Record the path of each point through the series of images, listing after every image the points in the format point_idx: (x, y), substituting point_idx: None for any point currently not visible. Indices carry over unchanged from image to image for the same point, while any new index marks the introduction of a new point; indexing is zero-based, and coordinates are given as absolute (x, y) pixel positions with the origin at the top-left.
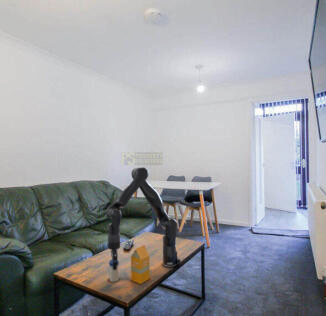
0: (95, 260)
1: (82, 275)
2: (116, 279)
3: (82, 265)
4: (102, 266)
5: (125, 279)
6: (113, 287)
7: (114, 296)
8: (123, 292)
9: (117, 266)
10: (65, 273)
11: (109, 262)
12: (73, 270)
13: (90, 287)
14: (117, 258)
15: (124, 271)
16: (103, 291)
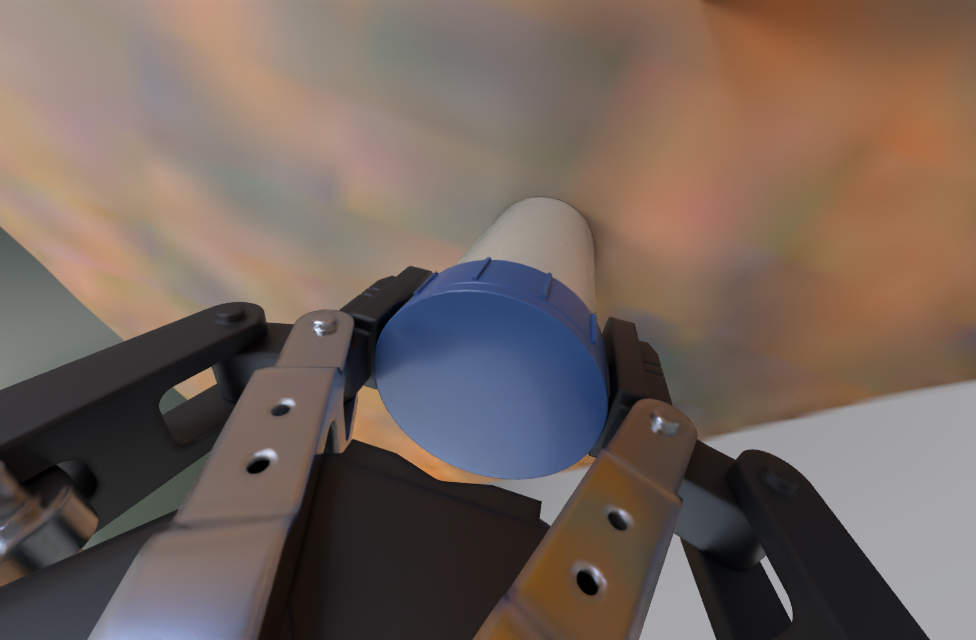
0: (106, 276)
1: (366, 437)
2: (593, 245)
3: (208, 387)
4: (219, 260)
5: (612, 99)
6: (715, 320)
7: (923, 381)
8: (950, 261)
9: (582, 299)
10: None
11: (497, 476)
12: None
13: (577, 463)
14: (678, 509)
15: (364, 26)
16: (719, 420)
